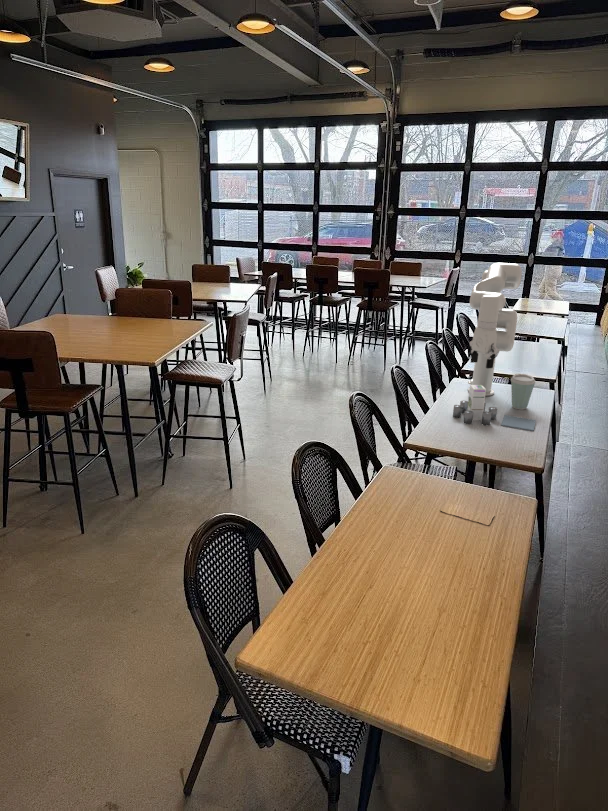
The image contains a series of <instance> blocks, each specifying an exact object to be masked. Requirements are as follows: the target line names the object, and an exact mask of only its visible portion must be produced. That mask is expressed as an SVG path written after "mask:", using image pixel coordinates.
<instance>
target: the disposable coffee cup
mask: <svg viewBox="0 0 608 811" xmlns="http://www.w3.org/2000/svg"><path fill="white" fill-rule="evenodd" d="M510 382H511V386H510V387H511V407H512V408H513V409H515V410H526V409H527V408H528V405H529V402H530V400H531V396H532V394H533V390H534V387H535V384H536V380H535V378H534V376H531V375H529V374H525V373H516V374H515V373H514V374H512V376H511V377H510Z"/></svg>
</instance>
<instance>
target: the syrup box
mask: <svg viewBox="0 0 608 811" xmlns="http://www.w3.org/2000/svg"><path fill="white" fill-rule="evenodd" d="M469 387H470V391H469V392H468V400H467V401H468V408H467V410H469V411H473V412H474V413H473V420H472V421H482V415H483V411H484V403H486V396H485V395H486V389H485V388H484V387H483V385H471V384H469Z"/></svg>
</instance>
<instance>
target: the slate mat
mask: <svg viewBox="0 0 608 811" xmlns="http://www.w3.org/2000/svg"><path fill="white" fill-rule="evenodd" d="M536 423H537V422H536V419H532V418H525V417H519V416H514V415H508V414H504V416H503V418H502V421H501V423H500V424H501V425H500V426H501V427H506V428H511V429H517V430H523V431H528V430H530V431H529V432H534V431H535V426H536Z"/></svg>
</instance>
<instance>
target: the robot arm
mask: <svg viewBox="0 0 608 811" xmlns="http://www.w3.org/2000/svg"><path fill="white" fill-rule="evenodd" d="M522 277H523V276H522V267H521V266H520V265H519V264H518V263H510V262H509V263H508V262H494V263H492V264H490V266H489V267H488V268H487V269H486V270H485V271H483V272H482V274H481V281H479V282H478V283H476V284H475V285H474V286H473V288H472V290H471V293H470V294H471V295H470V298H469V307H470V308H471V309H472V310H473V309H474V310H479V312H478V318H477V319H478V320H477V326H476V327H475V329H474V332H473V335H472V336H473V337H472V340H471V341H469V349H470V354H471V356H470V363H474V365H473V366H474V367H473V371H472V372H473V373H472V379H470V380H468V382H467V384H469V385H483V387H484V388H485V389H486V395H485V397H487V396H493V395H494V394H495V390H493V389H492V385H493V380H494V379H493V378H494V372H495V367H496V358H497V357H498V355H499V353H500V352H506V353H507V352H508V353H509V352H511V351H512V350H513V348H514V344H515V337H516V330H517V323H518V312H517V311H516V310H515V309H512V308H505V306H506V301H507V299H506V296H505V295H504V294H503V293H502V291H503V290H504V289H505V290H517V289H518V288H519V287H520V285H521V282H522ZM497 329H503V330H505V331H502V330H497ZM469 391H470V386H469V387H468V388H467V392H468V393H469Z"/></svg>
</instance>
